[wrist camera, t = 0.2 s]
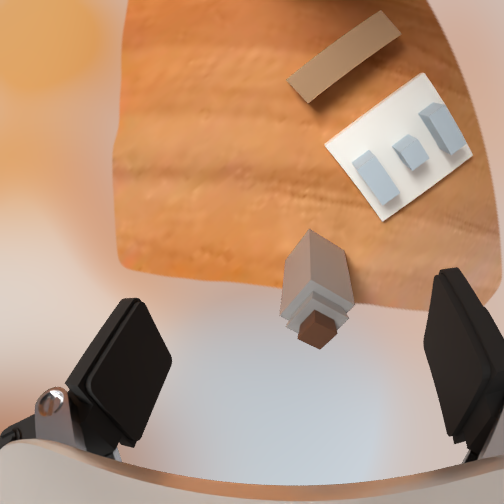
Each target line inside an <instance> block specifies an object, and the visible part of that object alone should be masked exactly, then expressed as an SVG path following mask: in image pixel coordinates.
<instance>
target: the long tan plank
mask: <svg viewBox="0 0 504 504" xmlns="http://www.w3.org/2000/svg"><path fill="white" fill-rule="evenodd" d="M400 35H401V32H400V31H399V30H398V29H397V28H396V27H395V25H394V24H393V23H392V22H391V21H390V20H389V18H388V17H387V16H386V15H385V14H384V13H383V12H382V11H381V10H380V11H378V12H377V13H375V14H374V15H372V16H371V17H369V18H368V19H366V20H365V21H363V22H362V23H360V24H359V25H357V26H356V27H355V28H353V29H352V30H350V31H349V32H348V33H346V34H345V35H343V36H342V37H341V38H339V39H338V40H336V41H335V42H334V43H332V44H331V45H330V46H328V47H327V48H326V49H324V50H323V51H322V52H320V53H319V54H318V55H316V56H315V57H314V58H313V59H311V60H310V61H309V62H307V63H306V64H305V65H304V66H302V67H301V68H300V69H299V70H297V71H296V72H295V73H294V74H292V75H291V76H290V77H289V78H288V79H286V81H287V82H288V83H289V84H290V85H291V86H292V87H293V88H294V89H295V90H296V91H297V92H298V93H299V94H300V95H301V97H302V98H303V99H304V100H305V101H306V102H307V103H309V102H311V101H312V100H313V99H314V98H316V97H317V96H318V95H319V94H321V93H322V92H323V91H324V90H326V89H327V88H328V87H330V86H331V85H332V84H333V83H335V82H336V81H337V80H339V79H340V78H341V77H343V76H344V75H345V74H347V73H348V72H349V71H351V70H352V69H353V68H355V67H356V66H357V65H359V64H360V63H361V62H363V61H364V60H366V59H367V58H368V57H370V56H371V55H373V54H374V53H375V52H377V51H378V50H380V49H381V48H382V47H384V46H385V45H387V44H388V43H390V42H391V41H392V40H394V39H395V38H397V37H398V36H400Z"/></svg>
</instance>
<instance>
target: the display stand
mask: <svg viewBox="0 0 504 504" xmlns="http://www.w3.org/2000/svg"><path fill="white" fill-rule="evenodd" d="M324 145H325V147H326V148H327V149H328V150H329V151H330V153H331V154H332V155H333V156H334V158H335V159H336V160H337V161H338V163H339V164H340V165H341V166H342V168H343V169H344V170H345V172H346V173H347V174H348V175H349V177H350V178H351V179H352V181H353V182H354V183H355V185H356V186H357V187H358V189H359V190H360V191H361V193H362V194H363V195H364V197H365V198H366V199H367V201H368V202H369V203H370V205H371V206H372V208H373V209H374V210H375V212H376V213H377V215H378V216H379V218H380V219H381V220H382V222H383V221H384V220H386V219H387V218H388V217H390V216H391V215H393V214H394V213H395V212H397V211H398V210H400V209H401V208H403V207H404V206H405V205H407V204H408V203H410V202H411V201H412V200H414V199H415V198H416V197H418V196H419V195H421V194H422V193H423V192H425V191H426V190H427V189H429V188H430V187H432V186H433V185H434V184H436V183H437V182H438V181H440V180H441V179H442V178H444V177H445V176H446V175H448V174H449V173H450V172H452V171H453V170H454V169H456V168H457V167H458V166H460V165H461V164H462V163H464V162H465V161H466V160H467V159H469V158H470V157H471V156H473V154H472V152H471V150H470V148H469V146H468V144H467V143H466V141H465V139H464V137H463V135H462V133H461V131H460V129H459V128H458V126H457V124H456V122H455V121H454V119H453V117H452V115H451V114H450V112H449V110H448V109H447V107H446V105H445V104H444V102H443V100H442V99H441V97H440V96H439V94H438V93H437V91H436V89H435V88H434V86H433V85H432V83H431V82H430V80H429V79H428V78H427V76H426V75H425V73H420V74H418V75H417V76H415V77H414V78H413V79H411V80H410V81H408V82H407V83H406V84H404V85H403V86H401V87H400V88H399V89H397V90H396V91H395V92H393V93H392V94H390V95H389V96H388V97H386V98H385V99H384V100H382V101H381V102H379V103H378V104H377V105H375V106H374V107H373V108H371V109H370V110H369V111H367V112H366V113H365V114H363V115H362V116H361V117H359V118H358V119H357V120H355V121H354V122H353V123H351V124H350V125H349V126H347V127H346V128H345V129H343V130H342V131H341V132H339V133H338V134H337V135H336V136H334V137H333V138H332V139H330V140H329V141H328V142H326V143H325V144H324Z"/></svg>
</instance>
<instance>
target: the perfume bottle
mask: <svg viewBox="0 0 504 504" xmlns="http://www.w3.org/2000/svg"><path fill="white" fill-rule="evenodd" d="M354 305H355V303H354V297H353V292H352V287H351V282H350V276H349V271H348V267H347V262H346V257H345V252H344V250H342V249H341V248H339V247H338V246H336V245H335V244H333V243H331V242H330V241H328V240H327V239H325V238H323V237H322V236H320V235H319V234H317V233H315V232H314V231H312V230H310V229H309V230H308V231H307V232H306V234H305V235H304V236H303V238H302V239H301V240H300V242H299V243H298V244H297V246H296V247H295V248H294V250H293V251H292V252H291V254H290V255H289V256H288V258H287V259H286V260H285V270H284V279H283V289H282V298H281V306H280V316H281V317H283V318H285V319H287V320H289V321H288V323H287V326H286V327H287V328H289V329H291V330H293V331H295V332H297V333H299V334H298V339H299V340H301V341H303V342H305V343H307V344H309V345H311V346H314V347H316V348H318V349H321V348H322V347H323V346H324V345H326V344H327V343H328V342H329V341H330V340H331V339H332V338H333V337H334V336H335V335H336V334H337V330H338V329H339V328H340V327H341V326H342V325H343V324H344V323H345V322H346V320H348V319H349V317H348V316H347V314H346V313H347V312H348V311H349V310H350V309H351V308H352V307H353V306H354Z"/></svg>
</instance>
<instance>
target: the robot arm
mask: <svg viewBox="0 0 504 504" xmlns="http://www.w3.org/2000/svg"><path fill="white" fill-rule="evenodd" d="M424 350H425V353H426V357H427V360H428V363H429V366H430V370H431V373H432V377H433V380H434V383H435V387H436V391H437V394H438V398H439V402H440V406H441V410H442V414H443V418H444V422H445V427H446V431H447V434H448V436H453V440H454V444H456V443H460V442H464V441H466V444H467V448H468V449H469V451H468V453H467V455H466V456H465V458H464V460H463V462H462V464H459V465H455V466H451V467H447V468H443V469H438V470H434V471H429V472H424V473H419V474H414V475H409V476H403V477H396V478H390V479H383V480H376V481H368V482H359V483H348V484H334V485H309V486H280V485H257V484H242V483H231V482H222V481H214V480H206V479H199V478H193V477H186V476H181V475H175V474H170V473H165V472H161V471H156V470H151V469H147V468H143V467H139V466H135V465H131V464H127V463H123V462H122V460H121V457H120V454H119V451H118V448H117V445H118V443H119V442H120V444H121V445H125V446H129V447H133V448H134V447H135V444H136V442H137V441H138V440H140V438H141V437H142V434H143V432H144V430H145V427H146V425H147V422H148V420H149V417H150V415H151V412H152V410H153V408H154V405H155V403H156V400H157V398H158V395H159V393H160V391H161V388H162V386H163V384H164V381H165V379H166V377H167V374H168V372H169V370H170V367H171V364H172V357H171V355H170V353H169V351H168V349H167V347H166V345H165V343H164V341H163V339H162V337H161V335H160V333H159V331H158V329H157V327H156V325H155V323H154V321H153V319H152V317H151V315H150V313H149V311H148V309H147V307H146V305H145V303H143V302H141V300H140V299H139V298H127V299H126V298H125V299H122V300H121V301H120V302H119V304H118V305H117V307H116V308H115V309H114V311H113V312H112V314H111V315H110V316H109V318H108V319H107V321H106V322H105V324H104V325H103V327H102V328H101V329H100V331H99V332H98V334H97V335H96V337H95V338H94V340H93V341H92V342H91V344H90V345H89V347H88V348H87V350H86V351H85V353H84V354H83V356H82V357H81V359H80V360H79V362H78V364H77V365H76V367H75V368H74V370H73V371H72V373H71V375H70V376H69V378H68V379H67V381H66V382H65V384H66V385H67V386H68V388H69V389H70V390H69V391H68V393H67V391H66V390H65V389H63V388H61V387H53V388H50V389H48V390H47V391H45V392H44V393H43V394H42V395H41V396H40V397H39V398H38V400H37V402H36V405H35V414H34V415H32V416H30V417H28V418H26V419H24V420H22V421H20V422H18V423H15V424H13V425H11V426H9V427H8V428H7V429H5V430H4V431H3V432H2V433H1V435H0V504H504V338H503V337H502V335H501V333H500V331H499V329H498V327H497V326H496V324H495V322H494V320H493V319H492V317H491V315H490V313H489V312H488V310H487V309H486V308H485V307H483V305H482V304H481V302H480V301H479V299H478V297H477V296H476V294H475V292H474V291H473V289H472V288H471V286H470V284H469V283H468V281H467V280H466V278H465V277H464V275H463V274H462V272H461V271H460V269H459V268H457V267H456V268H449V269H442V270H440V272H439V275H436V276H435V277H434V281H433V289H432V296H431V302H430V308H429V314H428V320H427V325H426V330H425V335H424Z"/></svg>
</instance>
